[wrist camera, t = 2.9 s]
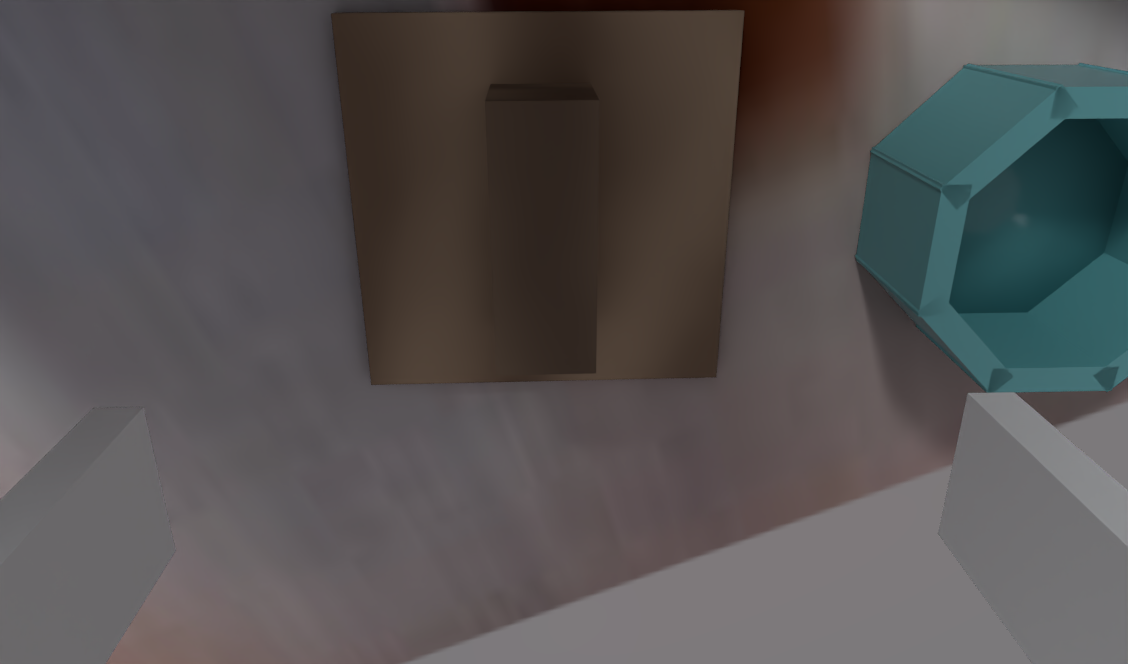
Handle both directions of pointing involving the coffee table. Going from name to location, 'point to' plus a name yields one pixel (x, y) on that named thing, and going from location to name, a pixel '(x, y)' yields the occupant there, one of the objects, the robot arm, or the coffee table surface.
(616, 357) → the walnut lid
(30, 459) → the coffee table surface
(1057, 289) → the teal bowl
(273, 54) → the coffee table surface
